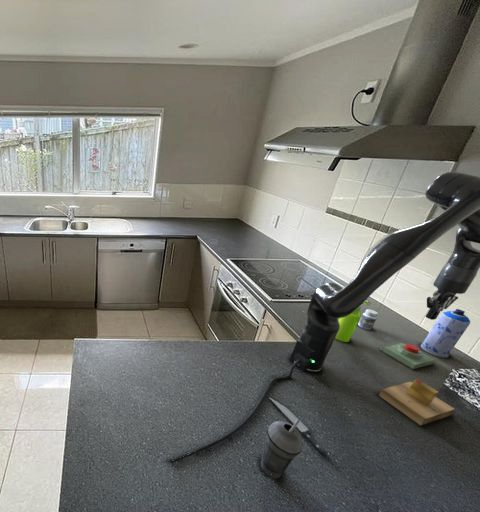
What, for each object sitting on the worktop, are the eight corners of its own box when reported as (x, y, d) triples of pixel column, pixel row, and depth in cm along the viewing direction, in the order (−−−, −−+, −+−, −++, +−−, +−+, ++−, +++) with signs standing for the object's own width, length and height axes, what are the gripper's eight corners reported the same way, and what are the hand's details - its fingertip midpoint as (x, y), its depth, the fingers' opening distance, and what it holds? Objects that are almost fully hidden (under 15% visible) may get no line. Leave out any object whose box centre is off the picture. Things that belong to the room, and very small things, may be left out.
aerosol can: (452, 355, 114) (480, 314, 106) (442, 359, 111) (471, 318, 104) (425, 342, 121) (450, 303, 113) (416, 346, 118) (441, 306, 110)
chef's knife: (275, 396, 92) (268, 397, 92) (277, 394, 92) (269, 395, 91) (332, 455, 75) (323, 457, 74) (334, 453, 75) (325, 455, 74)
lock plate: (420, 425, 84) (425, 418, 83) (378, 395, 94) (382, 388, 93) (450, 415, 88) (455, 408, 87) (406, 387, 98) (411, 380, 96)
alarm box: (412, 369, 106) (418, 361, 104) (382, 351, 115) (386, 343, 113) (431, 364, 109) (437, 356, 107) (400, 347, 118) (404, 339, 116)
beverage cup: (275, 453, 75) (299, 400, 67) (294, 484, 69) (323, 429, 61) (249, 453, 75) (270, 400, 67) (265, 484, 68) (290, 430, 60)
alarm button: (413, 354, 108) (415, 350, 108) (402, 348, 112) (404, 344, 111) (419, 352, 109) (421, 349, 109) (408, 346, 112) (410, 343, 112)
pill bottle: (359, 327, 129) (367, 312, 126) (356, 322, 133) (363, 307, 130) (372, 331, 127) (380, 315, 124) (369, 325, 131) (377, 310, 128)
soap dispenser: (345, 344, 118) (364, 304, 110) (328, 334, 124) (346, 295, 116) (355, 342, 119) (375, 302, 111) (338, 332, 125) (356, 294, 118)
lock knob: (429, 404, 88) (439, 391, 86) (426, 405, 87) (435, 392, 85) (409, 391, 92) (418, 378, 90) (406, 392, 92) (414, 379, 90)
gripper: (458, 284, 93) (431, 326, 99) (482, 280, 96) (455, 322, 103) (428, 274, 99) (405, 314, 106) (452, 271, 103) (428, 310, 109)
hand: (430, 318), depth 104 cm, fingers closed
